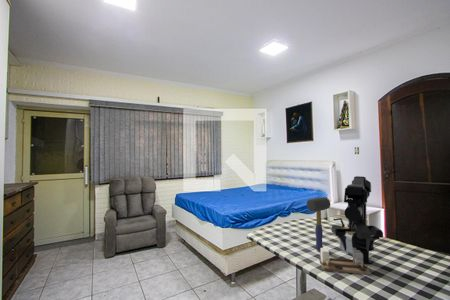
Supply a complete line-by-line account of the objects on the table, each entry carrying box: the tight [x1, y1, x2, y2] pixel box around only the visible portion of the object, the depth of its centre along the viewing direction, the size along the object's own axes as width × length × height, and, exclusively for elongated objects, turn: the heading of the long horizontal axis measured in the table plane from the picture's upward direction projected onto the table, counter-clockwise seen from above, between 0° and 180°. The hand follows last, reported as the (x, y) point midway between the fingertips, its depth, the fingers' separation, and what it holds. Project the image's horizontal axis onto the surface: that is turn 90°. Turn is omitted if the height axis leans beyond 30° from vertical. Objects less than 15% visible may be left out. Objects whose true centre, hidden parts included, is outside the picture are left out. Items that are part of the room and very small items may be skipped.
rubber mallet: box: [306, 196, 331, 252], centre depth 122 cm, size 12×8×30 cm, turn 116°
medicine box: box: [339, 233, 356, 255], centre depth 121 cm, size 8×4×9 cm, turn 27°
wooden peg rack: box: [318, 250, 372, 275], centre depth 104 cm, size 9×20×7 cm, turn 80°
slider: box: [320, 247, 330, 266], centre depth 106 cm, size 7×3×6 cm, turn 170°
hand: (356, 250), depth 93 cm, fingers open, 9 cm apart
